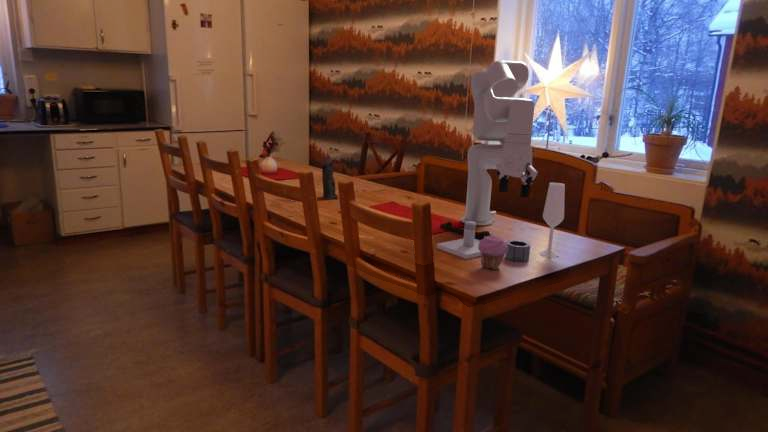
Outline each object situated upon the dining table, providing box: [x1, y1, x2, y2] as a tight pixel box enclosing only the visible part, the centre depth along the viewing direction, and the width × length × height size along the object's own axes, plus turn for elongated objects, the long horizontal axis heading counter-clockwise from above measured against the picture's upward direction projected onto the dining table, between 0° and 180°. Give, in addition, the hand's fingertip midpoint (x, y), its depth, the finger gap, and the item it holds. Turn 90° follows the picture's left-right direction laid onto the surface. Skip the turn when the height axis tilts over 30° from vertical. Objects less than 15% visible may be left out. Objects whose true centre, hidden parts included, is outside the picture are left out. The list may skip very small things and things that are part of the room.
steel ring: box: [504, 240, 531, 263], centre depth 173 cm, size 7×7×5 cm
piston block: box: [436, 221, 482, 260], centre depth 180 cm, size 16×14×10 cm
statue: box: [321, 155, 339, 200], centre depth 250 cm, size 7×7×20 cm
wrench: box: [440, 221, 492, 241], centre depth 198 cm, size 5×5×30 cm
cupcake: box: [478, 235, 508, 271], centre depth 163 cm, size 9×9×10 cm
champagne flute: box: [538, 182, 566, 258], centre depth 177 cm, size 7×7×24 cm
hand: (513, 194), depth 169 cm, fingers open, 9 cm apart
